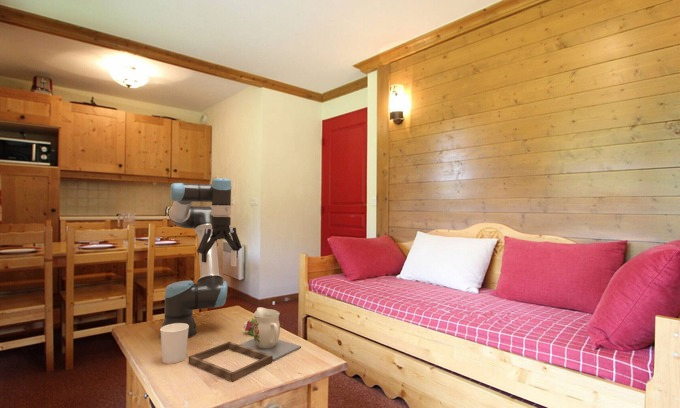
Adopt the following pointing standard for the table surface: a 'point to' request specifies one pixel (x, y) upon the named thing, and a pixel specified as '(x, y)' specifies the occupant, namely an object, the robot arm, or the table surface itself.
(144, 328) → the table surface
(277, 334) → the pitcher
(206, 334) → the table surface
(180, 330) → the candle holder
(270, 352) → the slate board
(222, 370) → the frame
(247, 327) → the geometric puzzle
